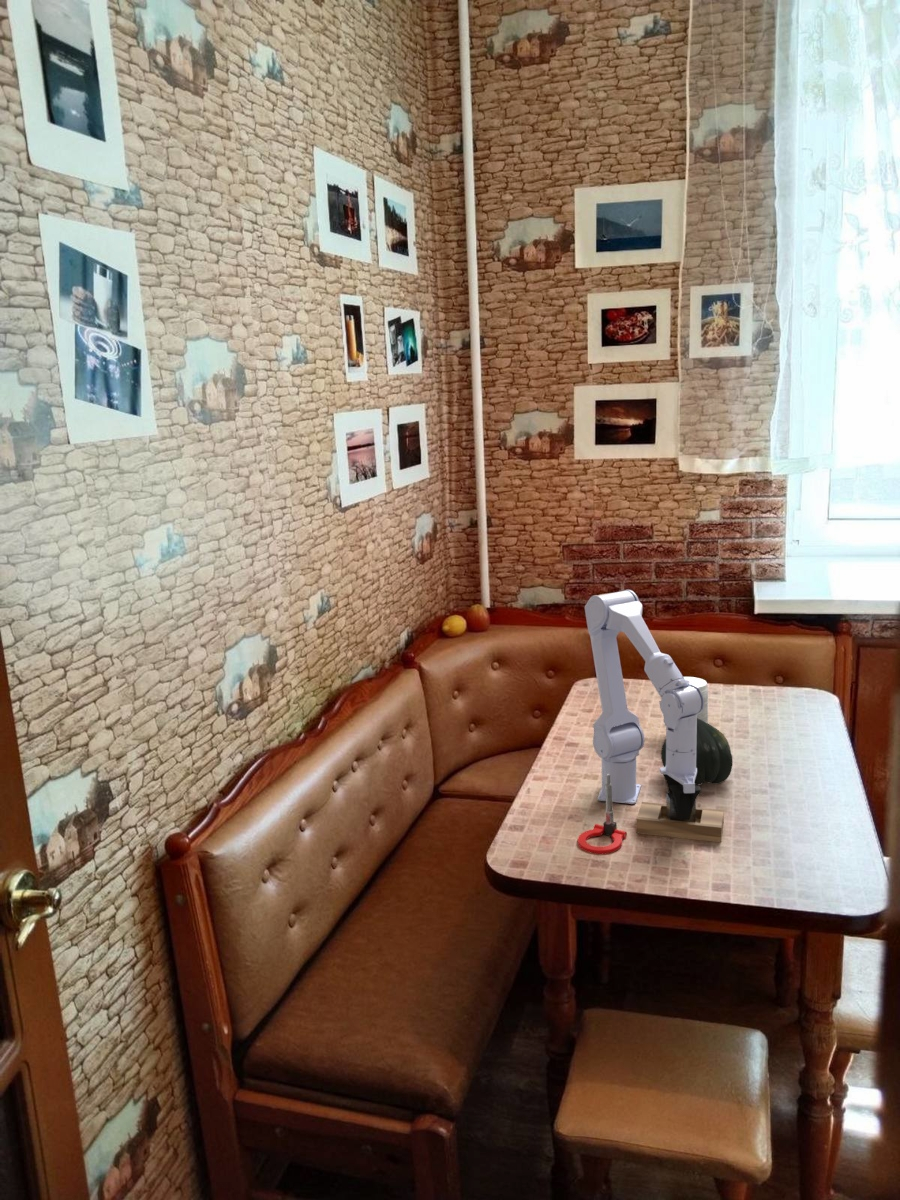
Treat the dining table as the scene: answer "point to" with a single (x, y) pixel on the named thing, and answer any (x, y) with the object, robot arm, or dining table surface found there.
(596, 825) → the tow hook
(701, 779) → the squash
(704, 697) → the supplement tub
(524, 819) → the dining table surface
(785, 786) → the dining table surface
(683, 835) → the open wooden tray
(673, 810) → the grey rectangular prism
